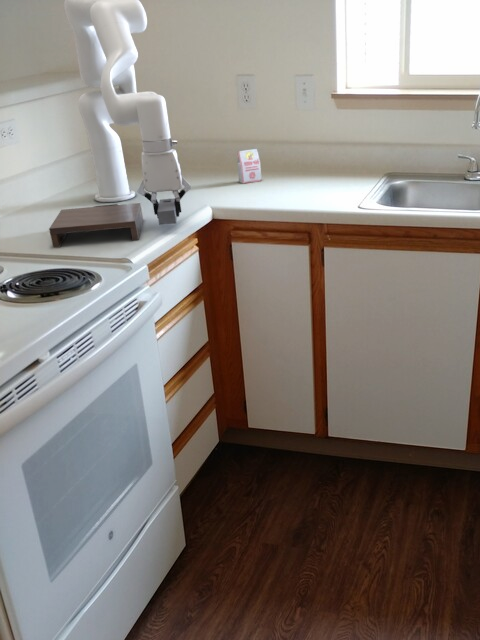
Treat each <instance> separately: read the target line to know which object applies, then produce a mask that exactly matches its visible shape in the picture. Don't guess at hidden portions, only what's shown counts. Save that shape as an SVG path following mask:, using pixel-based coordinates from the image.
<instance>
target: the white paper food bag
mask: <svg viewBox="0 0 480 640" xmlns="http://www.w3.org/2000/svg"><path fill="white" fill-rule="evenodd" d="M236 166H237V175H238V182H239V183H240V184H243V185H245V184H250V183H257V182H262V167H261V160H260V156H259V151H258V148H252V149H244V150H238V151H237V162H236Z"/></svg>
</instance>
